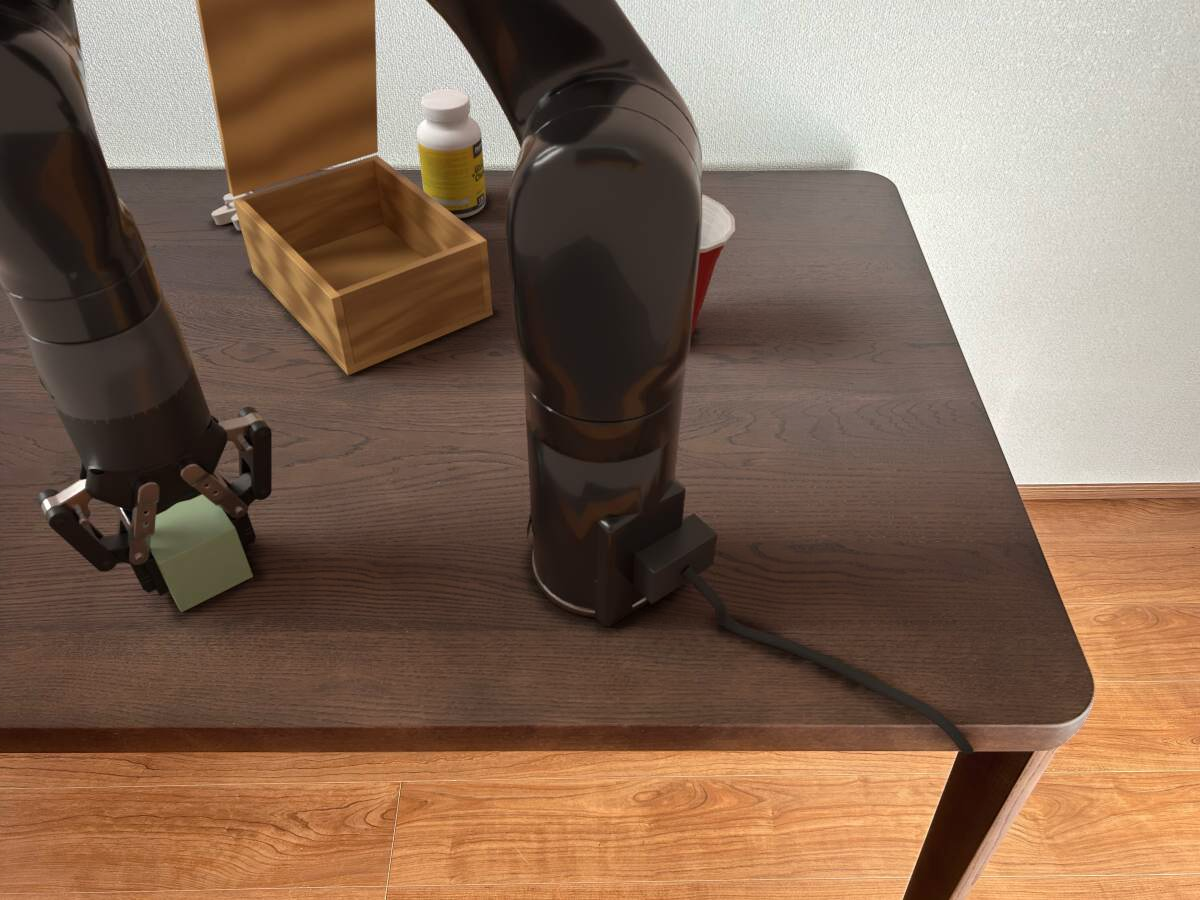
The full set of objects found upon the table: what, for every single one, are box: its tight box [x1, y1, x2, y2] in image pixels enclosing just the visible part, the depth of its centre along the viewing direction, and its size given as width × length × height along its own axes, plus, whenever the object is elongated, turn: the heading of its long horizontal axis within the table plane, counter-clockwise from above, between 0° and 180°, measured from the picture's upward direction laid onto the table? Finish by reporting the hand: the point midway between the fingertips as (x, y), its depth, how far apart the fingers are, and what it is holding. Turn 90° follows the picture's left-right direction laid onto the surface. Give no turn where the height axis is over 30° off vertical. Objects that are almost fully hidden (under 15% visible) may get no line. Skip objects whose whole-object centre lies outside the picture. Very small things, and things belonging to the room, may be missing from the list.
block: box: [150, 494, 254, 613], centre depth 65 cm, size 5×5×5 cm
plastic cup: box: [691, 194, 736, 335], centre depth 83 cm, size 11×11×12 cm
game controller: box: [211, 191, 254, 231], centre depth 101 cm, size 6×12×3 cm, turn 134°
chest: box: [233, 154, 494, 376], centre depth 88 cm, size 20×15×8 cm
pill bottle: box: [416, 88, 487, 219], centre depth 99 cm, size 6×6×12 cm
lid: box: [194, 0, 379, 197], centre depth 82 cm, size 20×15×1 cm
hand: (201, 565), depth 66 cm, fingers closed on block, 5 cm apart
